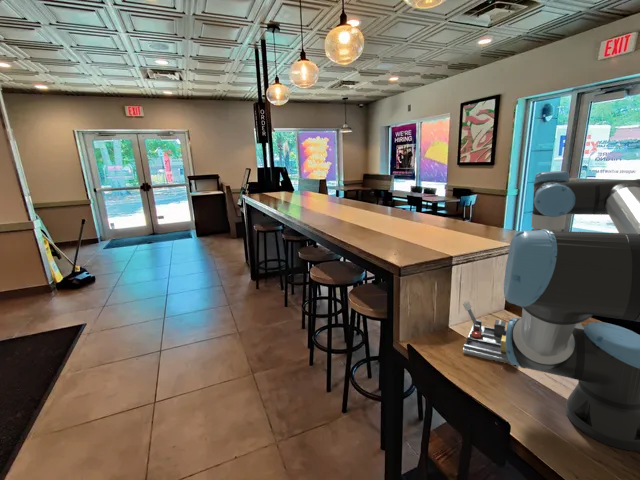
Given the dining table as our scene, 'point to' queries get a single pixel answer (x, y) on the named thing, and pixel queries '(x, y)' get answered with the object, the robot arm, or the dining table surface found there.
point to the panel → (484, 343)
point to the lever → (470, 311)
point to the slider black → (499, 328)
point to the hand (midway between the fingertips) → (541, 305)
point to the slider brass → (503, 345)
